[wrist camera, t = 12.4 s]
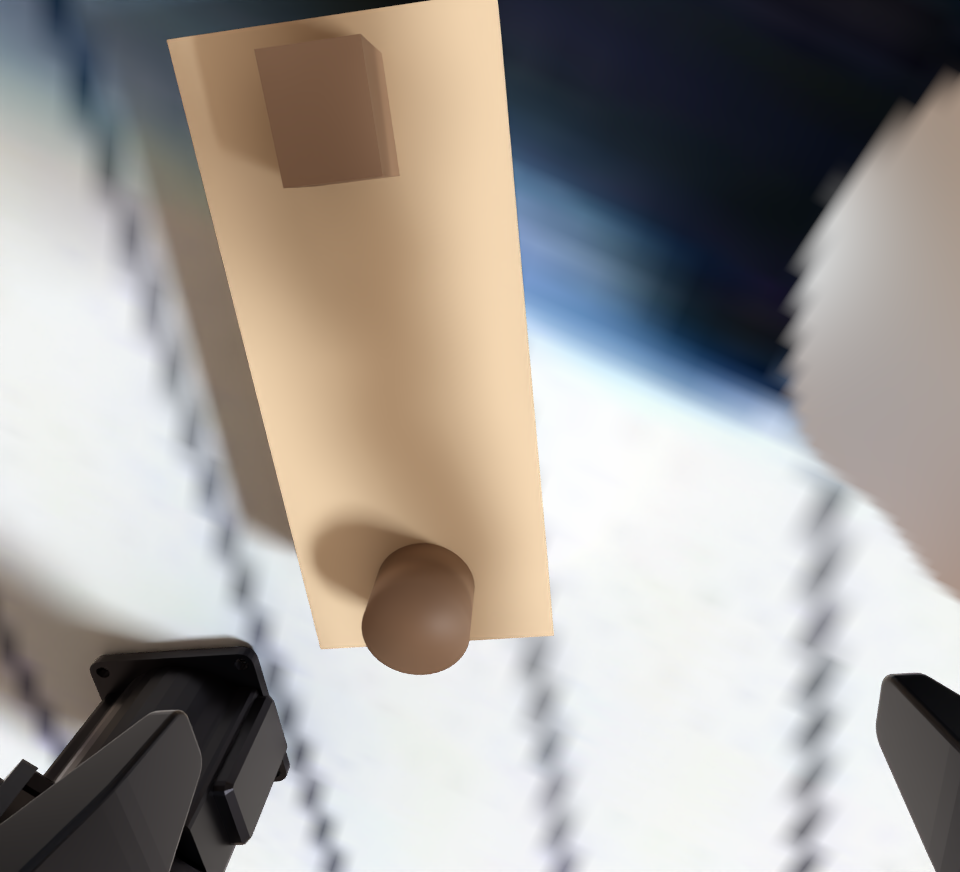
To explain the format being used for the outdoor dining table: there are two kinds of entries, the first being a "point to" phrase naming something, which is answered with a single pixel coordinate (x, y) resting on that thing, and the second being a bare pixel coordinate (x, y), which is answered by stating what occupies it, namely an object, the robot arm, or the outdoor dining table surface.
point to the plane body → (382, 314)
